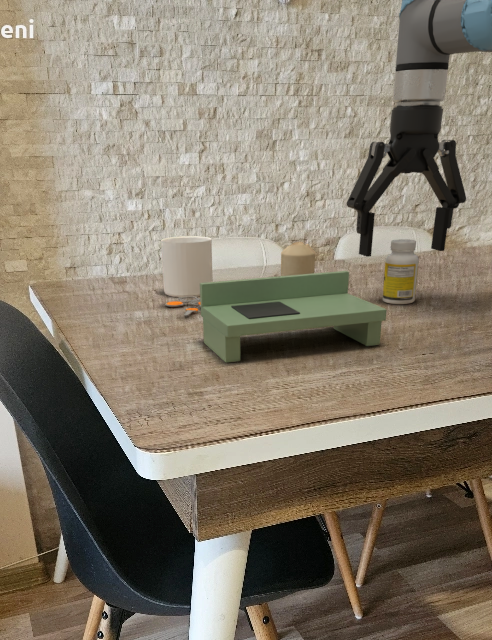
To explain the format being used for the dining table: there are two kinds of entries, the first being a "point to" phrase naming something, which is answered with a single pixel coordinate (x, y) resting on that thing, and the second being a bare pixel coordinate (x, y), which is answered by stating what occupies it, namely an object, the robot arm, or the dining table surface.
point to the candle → (297, 259)
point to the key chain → (193, 302)
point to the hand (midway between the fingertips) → (401, 252)
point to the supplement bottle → (401, 273)
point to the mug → (186, 264)
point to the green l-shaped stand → (284, 309)
